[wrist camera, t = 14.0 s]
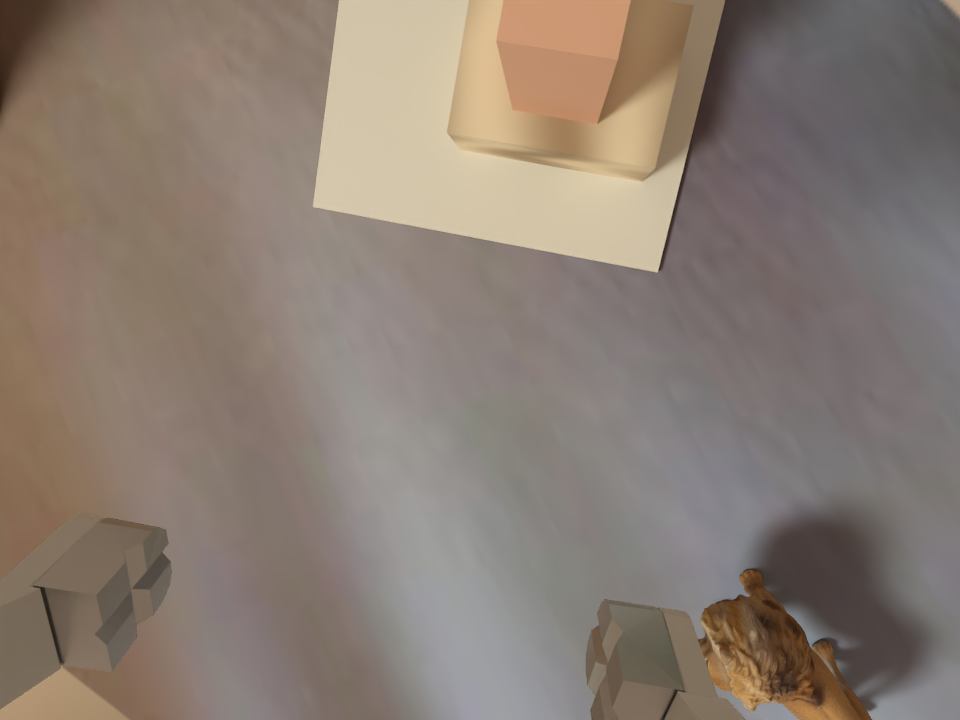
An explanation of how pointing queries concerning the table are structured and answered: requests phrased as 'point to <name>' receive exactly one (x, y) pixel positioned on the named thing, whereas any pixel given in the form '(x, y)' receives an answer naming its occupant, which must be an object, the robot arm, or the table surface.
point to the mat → (472, 176)
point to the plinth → (561, 142)
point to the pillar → (560, 54)
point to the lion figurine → (773, 658)
